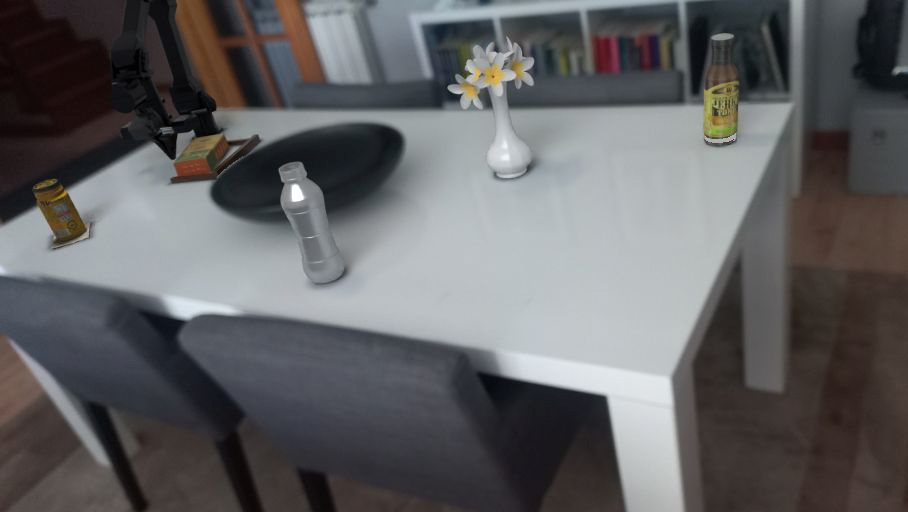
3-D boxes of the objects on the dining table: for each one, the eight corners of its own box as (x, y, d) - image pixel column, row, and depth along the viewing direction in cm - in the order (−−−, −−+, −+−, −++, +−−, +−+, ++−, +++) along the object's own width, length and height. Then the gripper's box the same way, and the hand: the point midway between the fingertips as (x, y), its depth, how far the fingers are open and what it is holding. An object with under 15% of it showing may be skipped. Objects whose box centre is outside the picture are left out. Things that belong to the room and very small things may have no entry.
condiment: (89, 223, 159) (63, 173, 152) (89, 238, 152) (61, 186, 146) (54, 235, 157) (26, 184, 150) (51, 250, 150) (22, 198, 144)
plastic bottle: (311, 271, 123) (272, 162, 113) (350, 264, 123) (315, 154, 113) (305, 291, 118) (264, 179, 107) (346, 284, 118) (309, 170, 107)
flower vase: (461, 193, 140) (433, 64, 126) (503, 153, 153) (481, 33, 140) (522, 197, 134) (500, 62, 121) (560, 155, 147) (543, 29, 134)
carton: (230, 148, 187) (224, 132, 185) (212, 173, 173) (205, 156, 171) (199, 153, 187) (192, 137, 185) (178, 178, 174) (171, 162, 171)
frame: (217, 146, 190) (214, 138, 189) (260, 141, 187) (258, 134, 186) (171, 183, 172) (168, 175, 171) (219, 178, 169) (216, 171, 168)
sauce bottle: (711, 150, 137) (710, 44, 126) (698, 139, 142) (695, 36, 132) (744, 143, 137) (745, 36, 127) (729, 132, 143) (729, 29, 132)
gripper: (93, 115, 168) (122, 176, 176) (164, 106, 164) (191, 169, 173) (120, 99, 177) (147, 158, 186) (188, 90, 174) (213, 150, 182)
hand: (173, 159), depth 181 cm, fingers closed
